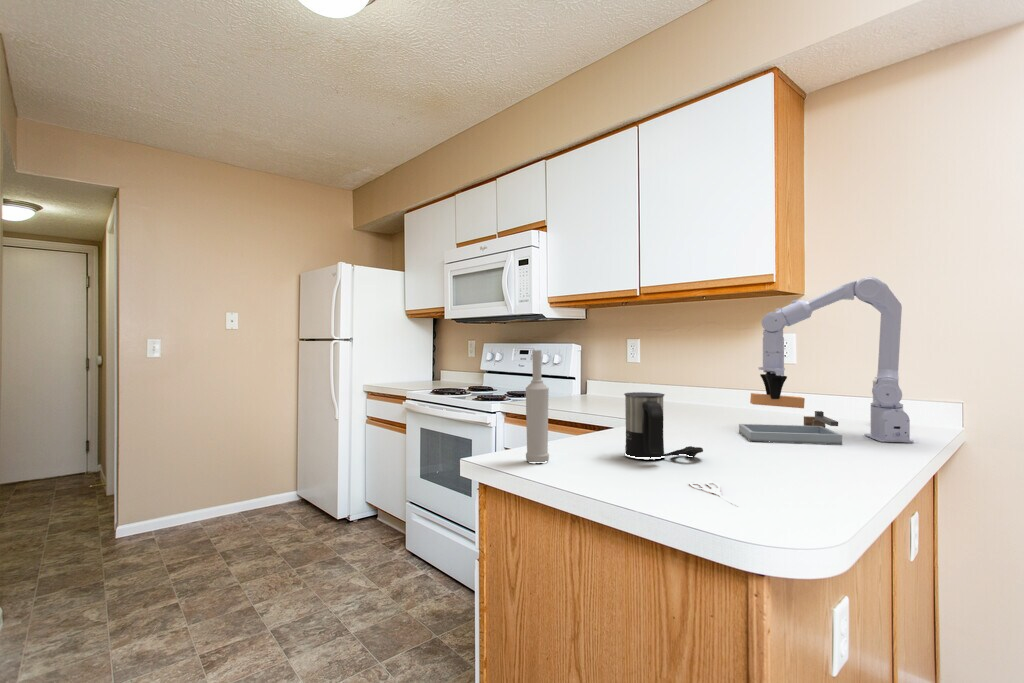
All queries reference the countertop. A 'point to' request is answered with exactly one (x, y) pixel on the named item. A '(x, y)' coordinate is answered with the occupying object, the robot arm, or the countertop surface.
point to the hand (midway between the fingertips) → (773, 398)
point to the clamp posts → (812, 422)
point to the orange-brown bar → (777, 401)
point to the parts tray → (789, 433)
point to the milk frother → (647, 426)
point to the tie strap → (825, 419)
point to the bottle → (537, 414)
